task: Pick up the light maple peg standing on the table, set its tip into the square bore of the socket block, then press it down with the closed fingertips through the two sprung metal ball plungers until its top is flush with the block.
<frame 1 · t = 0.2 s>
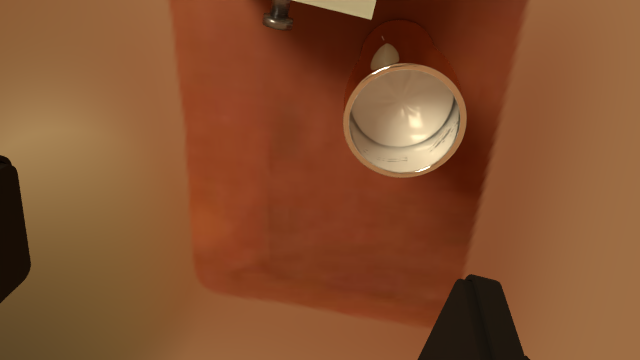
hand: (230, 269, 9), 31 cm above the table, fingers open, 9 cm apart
beer glass: (397, 57, 37), on the table
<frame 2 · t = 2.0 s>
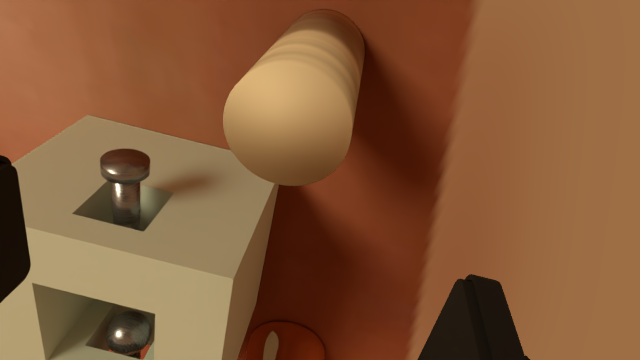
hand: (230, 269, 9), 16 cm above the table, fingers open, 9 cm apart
plunger 2: (126, 218, 21), point 7 cm above the table, slide at 0.0 cm
beer glass: (287, 346, 35), on the table
socket: (180, 218, 30), on the table
plunger 1: (129, 355, 26), point 7 cm above the table, slide at 0.0 cm
peg: (324, 52, 23), on the table
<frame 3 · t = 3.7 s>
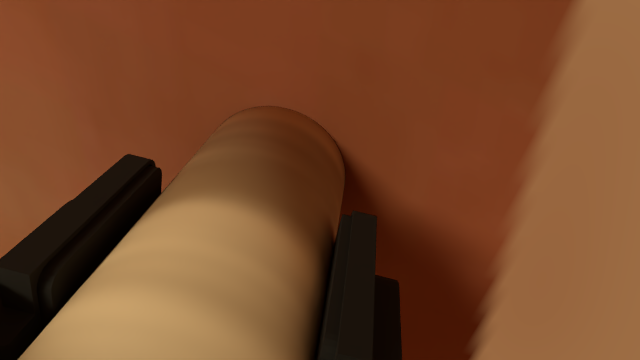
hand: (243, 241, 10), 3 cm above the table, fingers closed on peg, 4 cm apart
peg: (274, 173, 13), on the table, touching gripper
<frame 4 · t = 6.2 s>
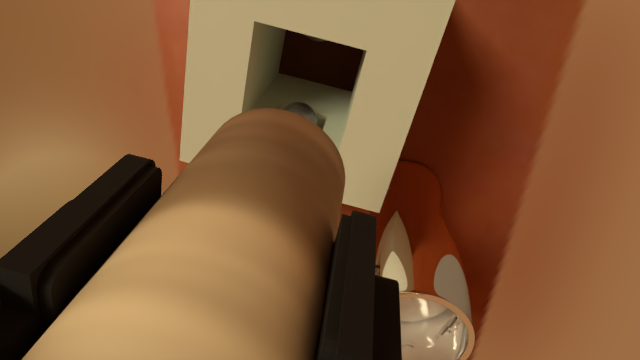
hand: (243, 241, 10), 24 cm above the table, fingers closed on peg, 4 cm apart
beer glass: (403, 191, 37), on the table
socket: (323, 44, 32), on the table
plunger 1: (291, 150, 28), point 7 cm above the table, slide at 0.0 cm
peg: (274, 175, 13), point 21 cm above the table, touching gripper
when the fingers open (11 cm above the table, at t = 9.0 s): peg stays where it is, resting on plunger 2, plunger 1.
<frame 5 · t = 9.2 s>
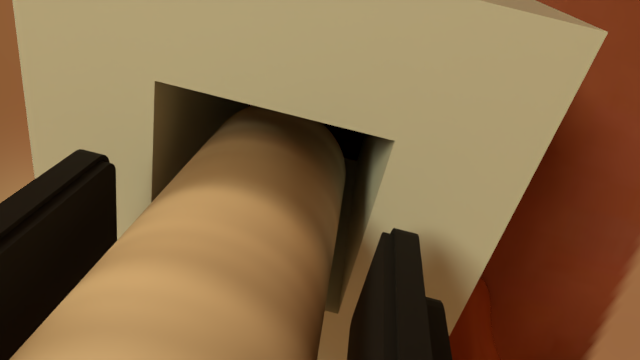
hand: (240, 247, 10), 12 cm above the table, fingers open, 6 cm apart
beer glass: (432, 296, 25), on the table
socket: (312, 92, 20), on the table
peg: (276, 170, 14), point 8 cm above the table, touching plunger 2, plunger 1
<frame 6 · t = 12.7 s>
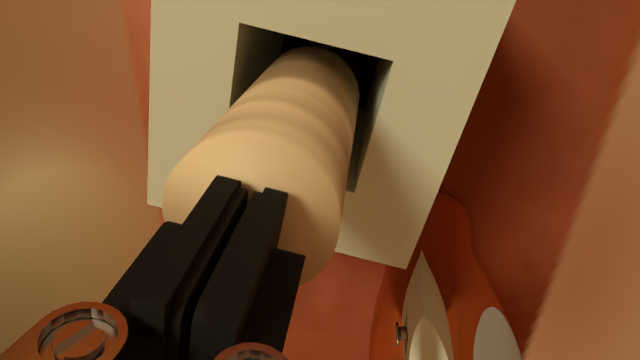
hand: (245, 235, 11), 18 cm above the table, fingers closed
beer glass: (424, 226, 31), on the table
socket: (329, 53, 26), on the table
peg: (310, 96, 19), point 8 cm above the table, touching gripper, plunger 2, plunger 1
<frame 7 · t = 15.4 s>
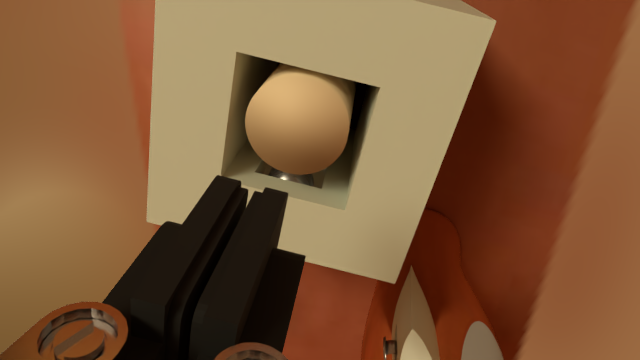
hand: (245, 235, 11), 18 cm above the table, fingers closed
beer glass: (414, 242, 32), on the table
socket: (322, 76, 27), on the table
plunger 1: (283, 215, 24), point 7 cm above the table, slide at 0.7 cm
peg: (323, 66, 27), resting in socket, touching plunger 2
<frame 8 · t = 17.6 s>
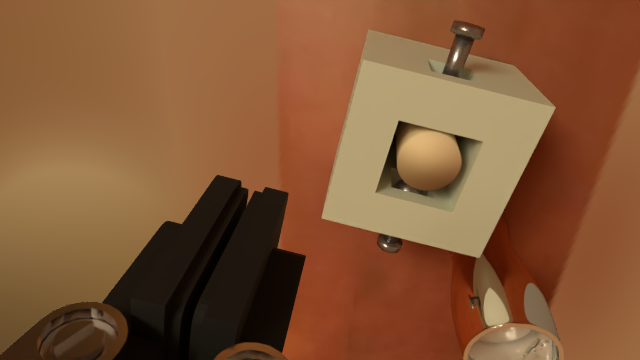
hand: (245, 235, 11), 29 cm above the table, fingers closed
plunger 2: (451, 73, 30), point 7 cm above the table, slide at 0.7 cm, touching peg
beer glass: (474, 230, 44), on the table
socket: (417, 116, 39), on the table
plunger 1: (399, 213, 36), point 7 cm above the table, slide at 0.7 cm
peg: (419, 109, 38), resting in socket, touching plunger 2
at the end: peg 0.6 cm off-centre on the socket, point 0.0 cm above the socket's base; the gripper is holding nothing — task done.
